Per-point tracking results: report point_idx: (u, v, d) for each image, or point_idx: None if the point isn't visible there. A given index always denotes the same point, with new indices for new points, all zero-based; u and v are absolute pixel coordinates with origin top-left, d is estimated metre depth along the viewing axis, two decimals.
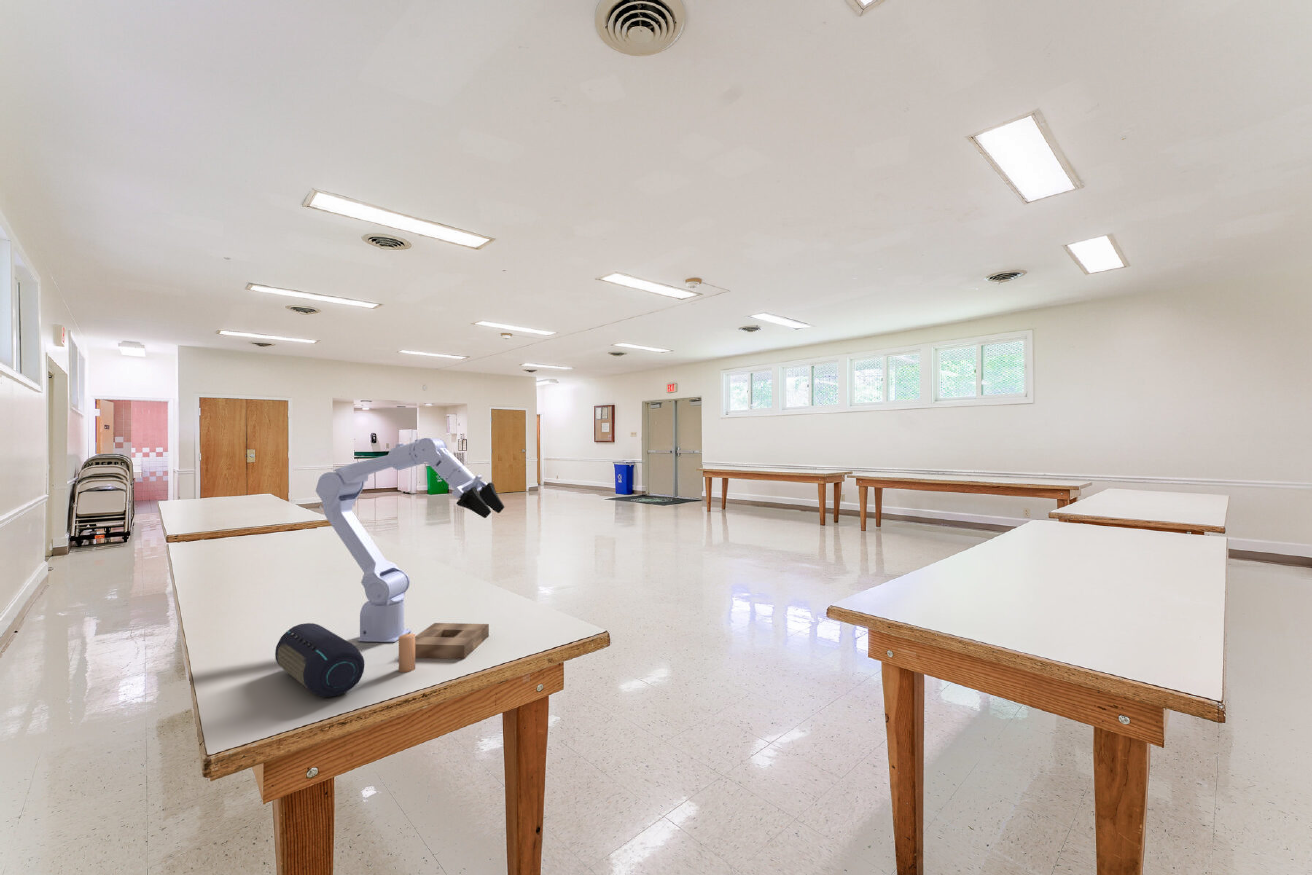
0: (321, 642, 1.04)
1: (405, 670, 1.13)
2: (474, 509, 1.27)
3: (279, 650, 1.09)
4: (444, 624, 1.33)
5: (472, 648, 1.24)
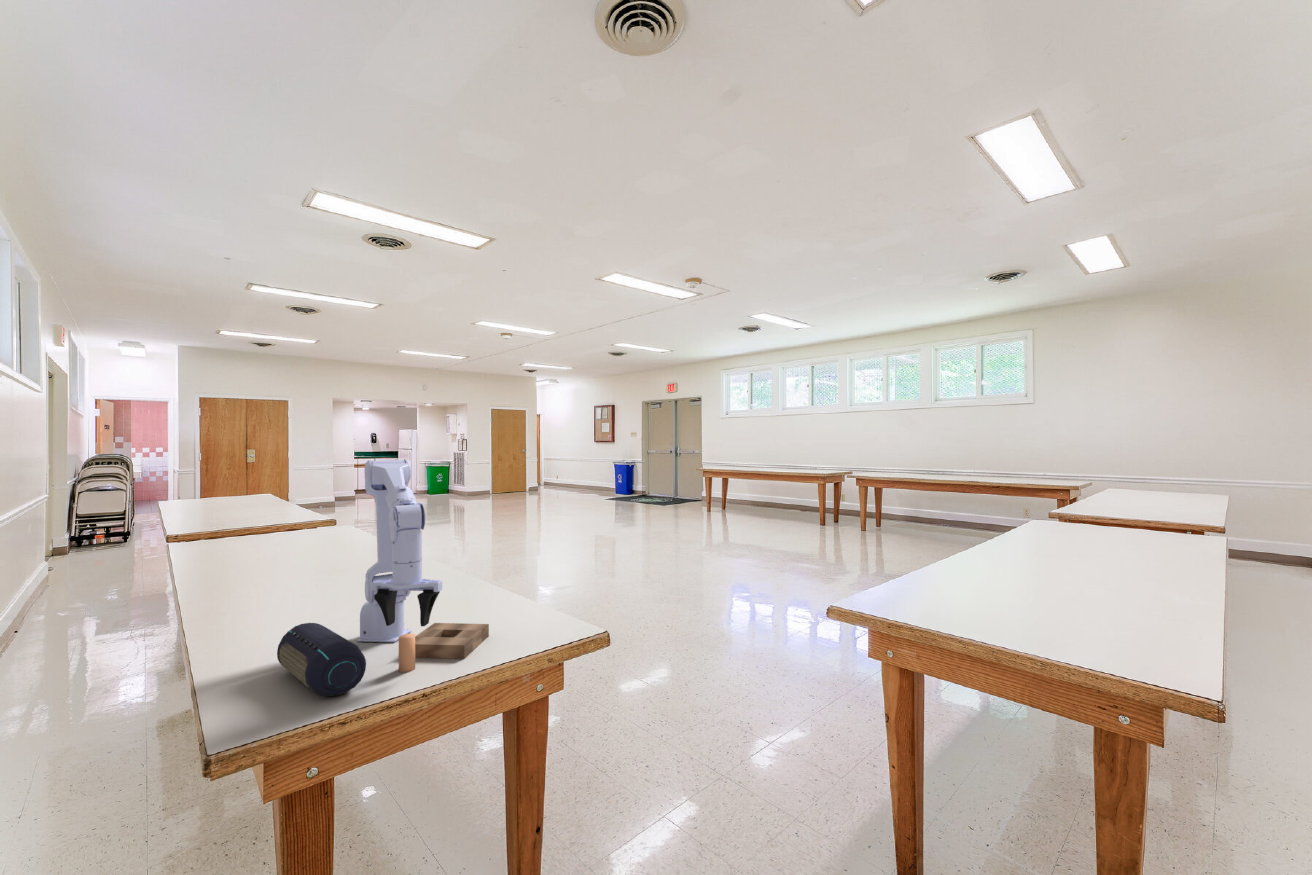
0: (323, 642, 1.04)
1: (405, 670, 1.13)
2: None
3: (281, 650, 1.10)
4: (444, 624, 1.33)
5: (472, 648, 1.24)
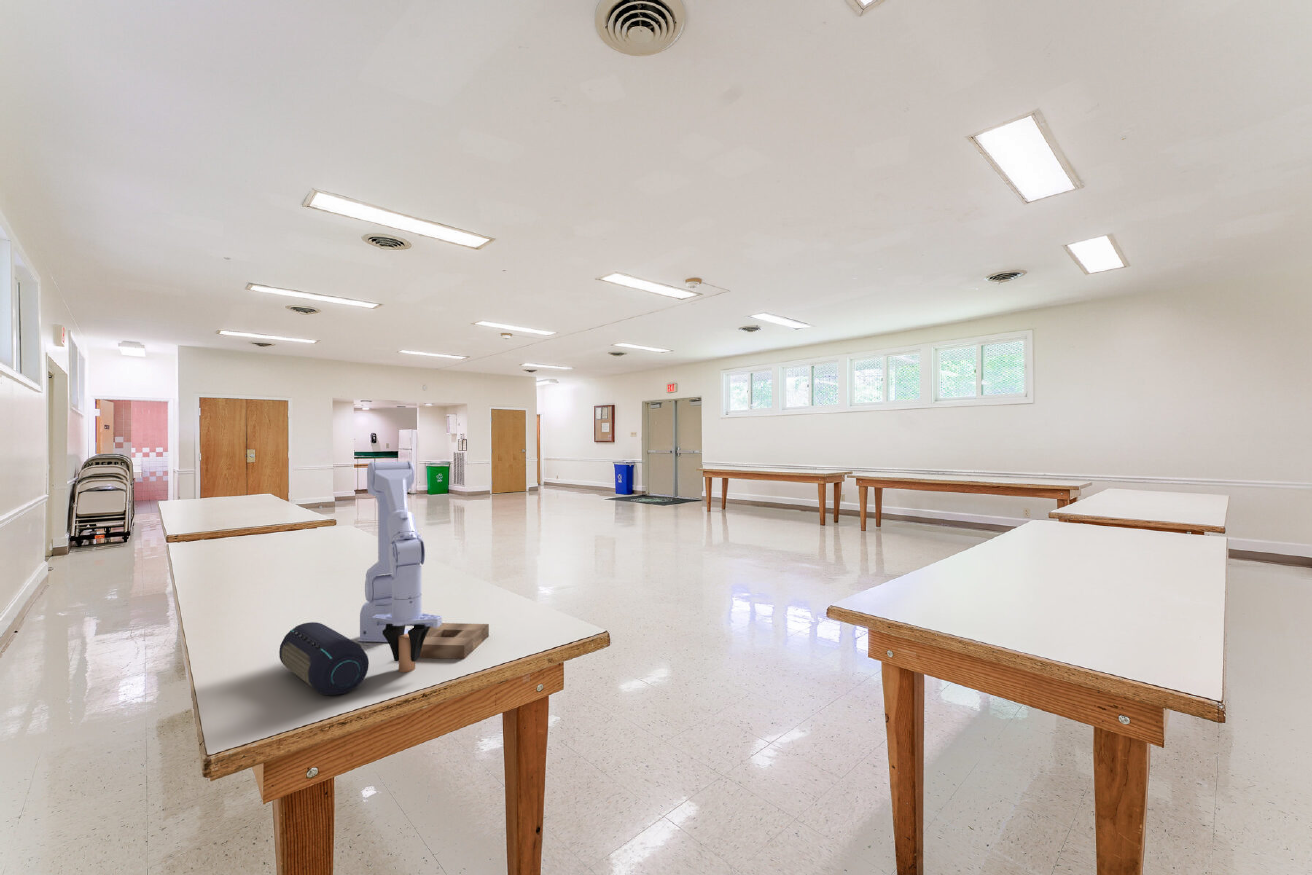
0: (326, 641, 1.04)
1: (405, 670, 1.13)
2: None
3: (283, 649, 1.10)
4: (444, 624, 1.33)
5: (472, 648, 1.24)
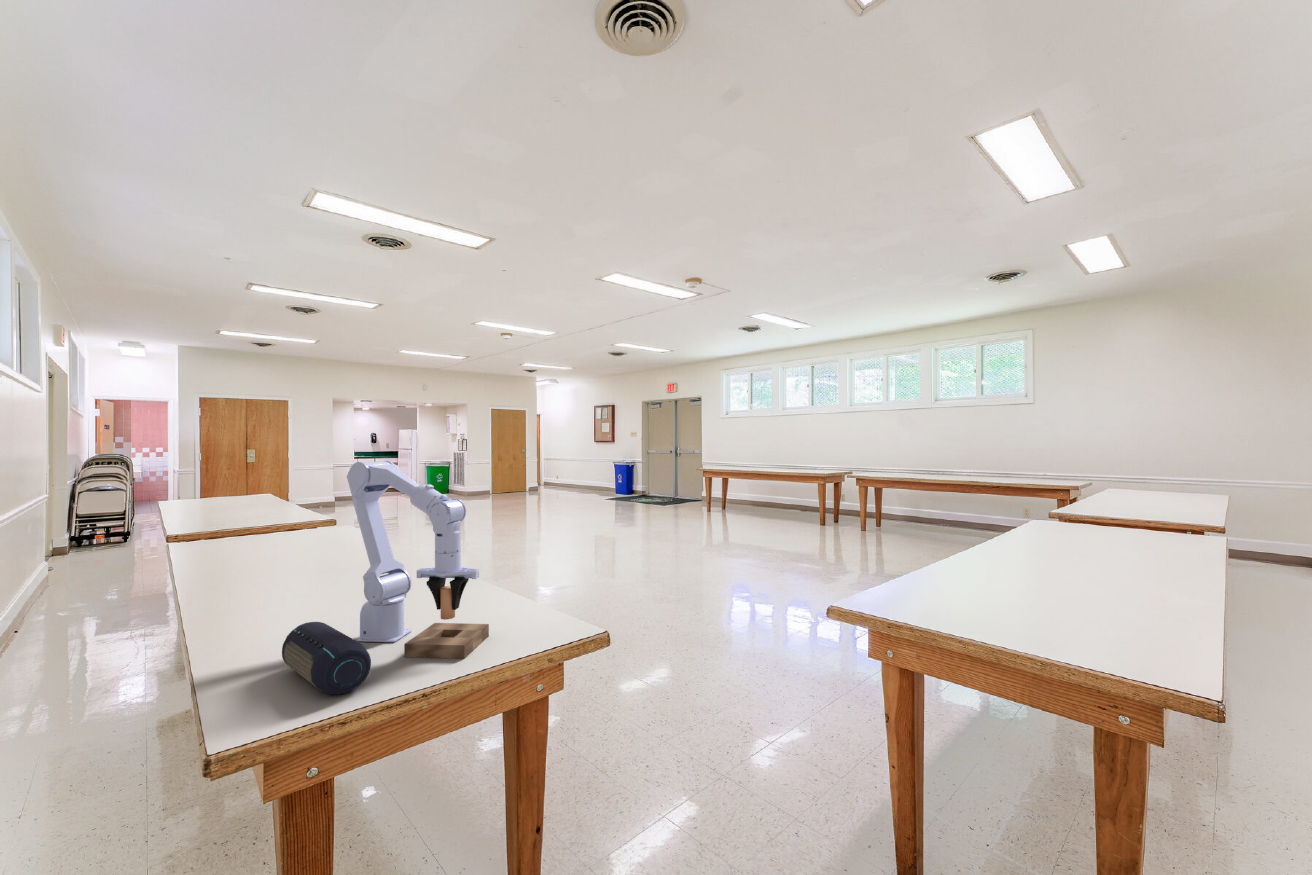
0: (328, 640, 1.05)
1: (446, 617, 1.25)
2: None
3: (286, 648, 1.10)
4: (444, 624, 1.33)
5: (472, 648, 1.24)
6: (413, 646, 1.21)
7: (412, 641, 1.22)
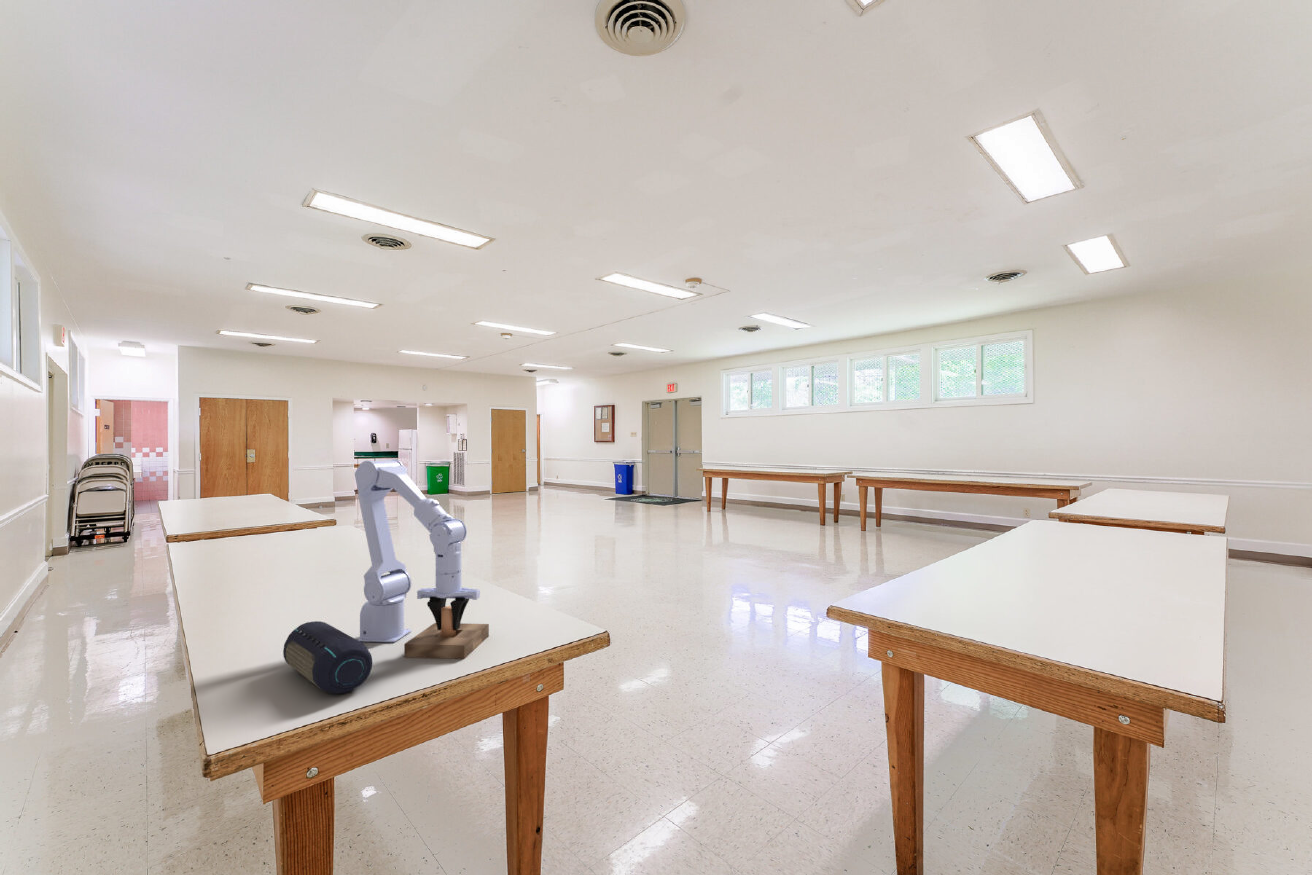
0: (330, 640, 1.05)
1: None
2: None
3: (288, 648, 1.11)
4: None
5: (472, 648, 1.24)
6: (413, 646, 1.21)
7: (412, 641, 1.22)
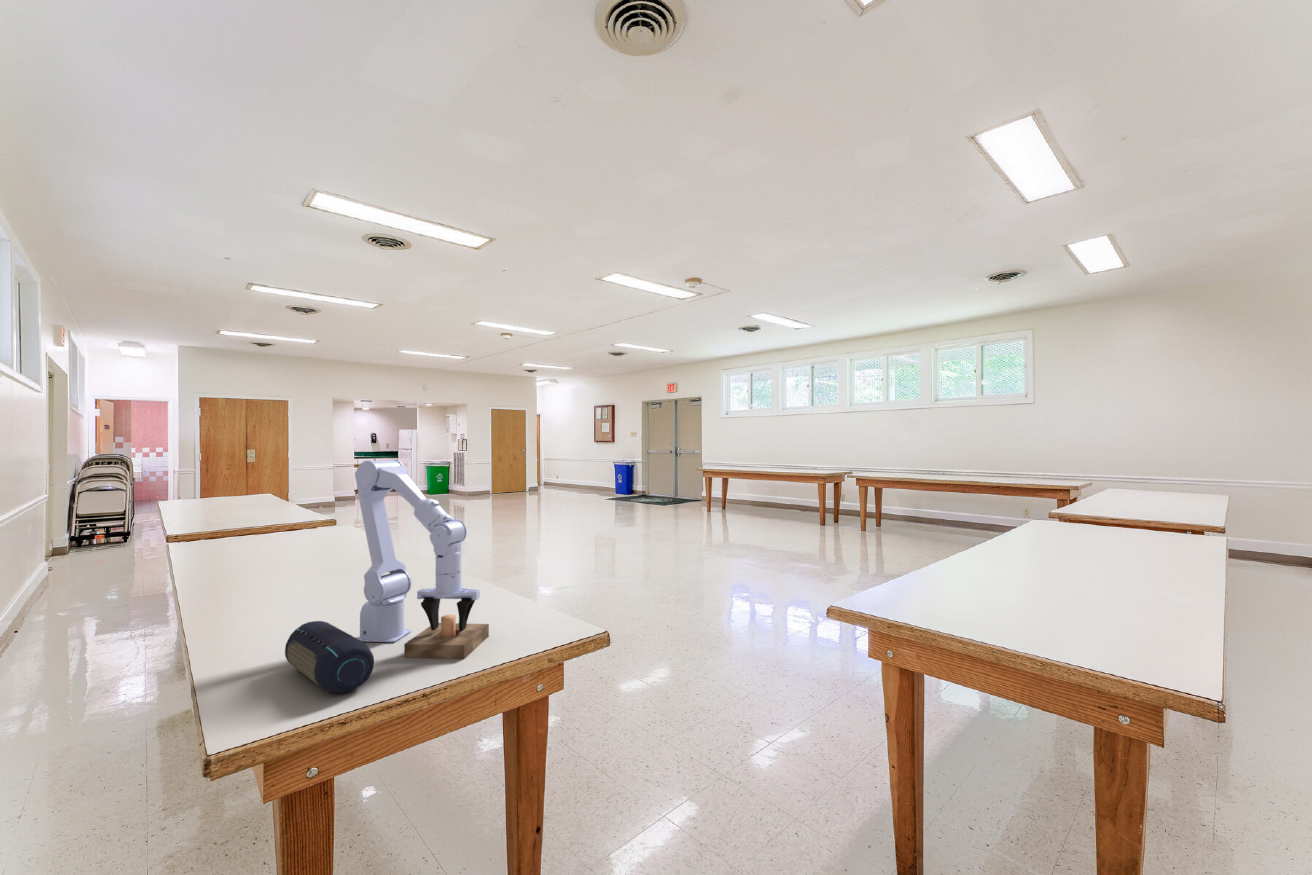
0: (331, 640, 1.05)
1: None
2: None
3: (289, 648, 1.11)
4: None
5: (472, 648, 1.24)
6: (413, 646, 1.21)
7: (412, 641, 1.22)
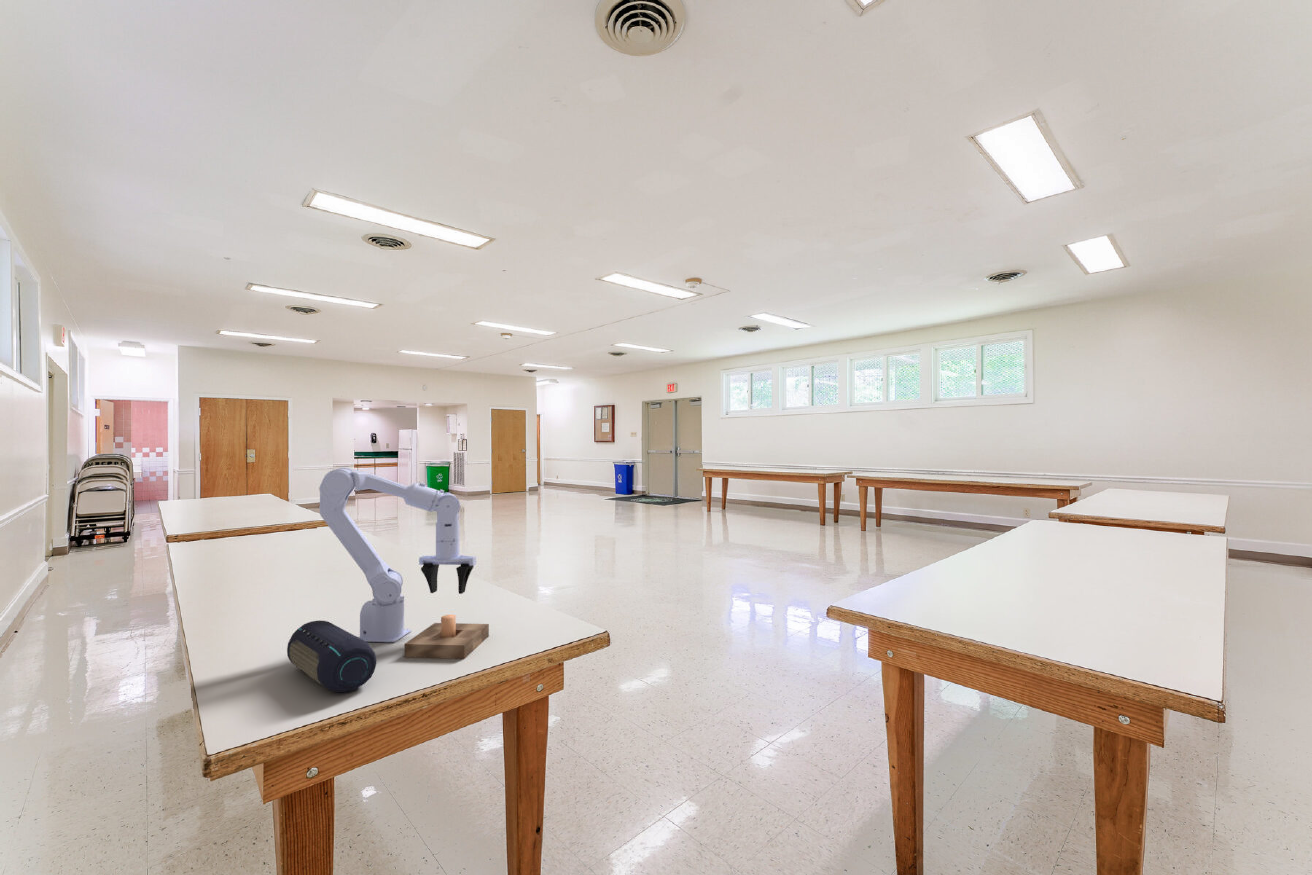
0: (334, 639, 1.06)
1: None
2: None
3: (291, 647, 1.11)
4: None
5: (472, 648, 1.24)
6: (413, 646, 1.21)
7: (412, 641, 1.22)
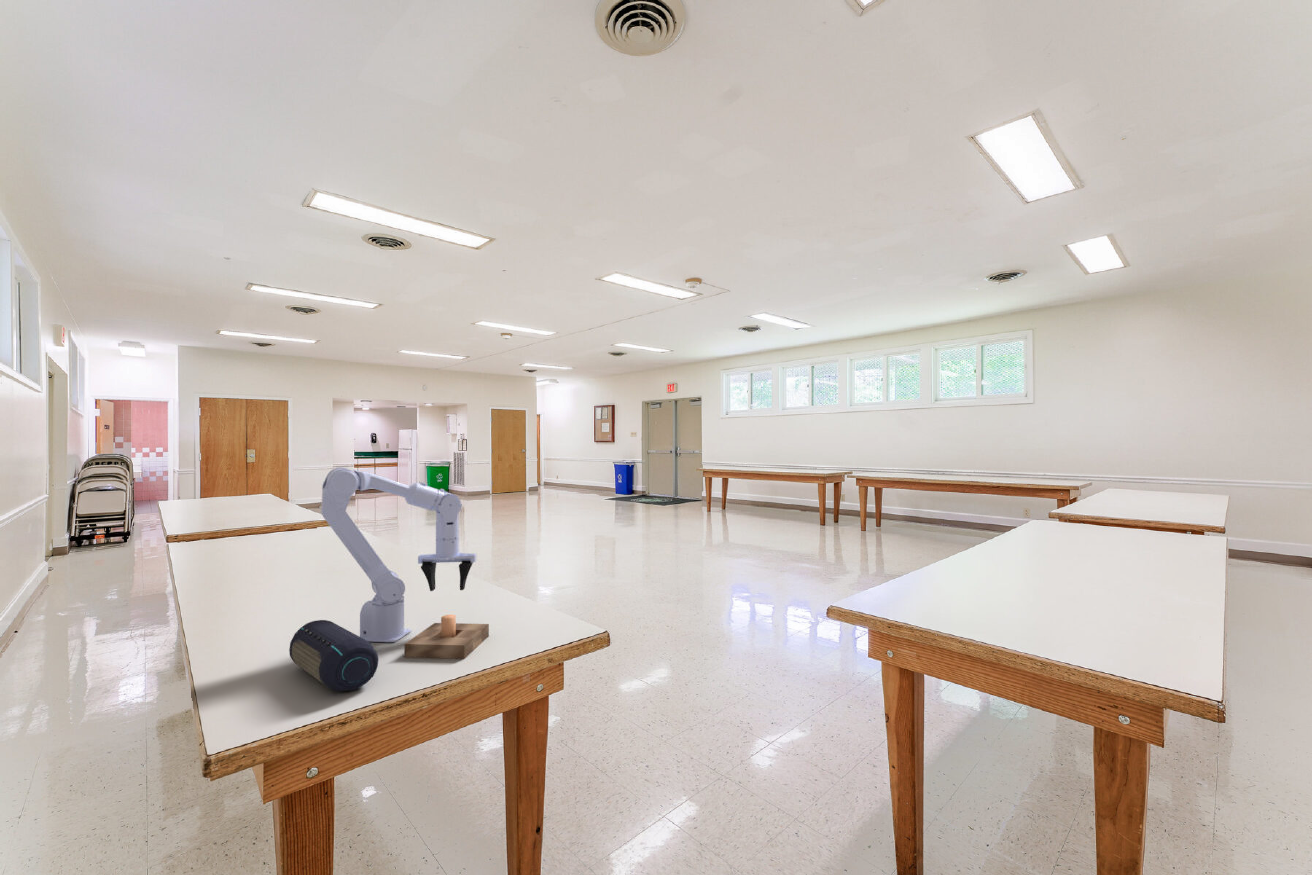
0: (336, 638, 1.06)
1: None
2: None
3: (294, 646, 1.11)
4: None
5: (472, 648, 1.24)
6: (413, 646, 1.21)
7: (412, 641, 1.22)
